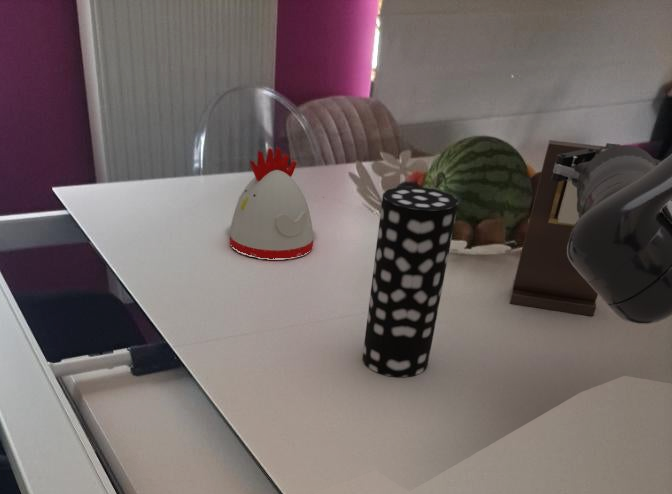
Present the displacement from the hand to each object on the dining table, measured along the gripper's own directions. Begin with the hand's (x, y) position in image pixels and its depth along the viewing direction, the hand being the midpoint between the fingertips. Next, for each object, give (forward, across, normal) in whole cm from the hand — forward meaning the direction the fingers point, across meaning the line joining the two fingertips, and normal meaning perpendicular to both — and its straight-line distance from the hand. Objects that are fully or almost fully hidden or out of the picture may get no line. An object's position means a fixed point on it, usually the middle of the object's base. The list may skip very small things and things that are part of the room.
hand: (609, 153), depth 83 cm
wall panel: (+16, 0, +24) cm, 29 cm away
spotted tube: (-11, +20, +24) cm, 33 cm away
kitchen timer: (+22, +46, +24) cm, 56 cm away
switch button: (+12, 0, +11) cm, 16 cm away
